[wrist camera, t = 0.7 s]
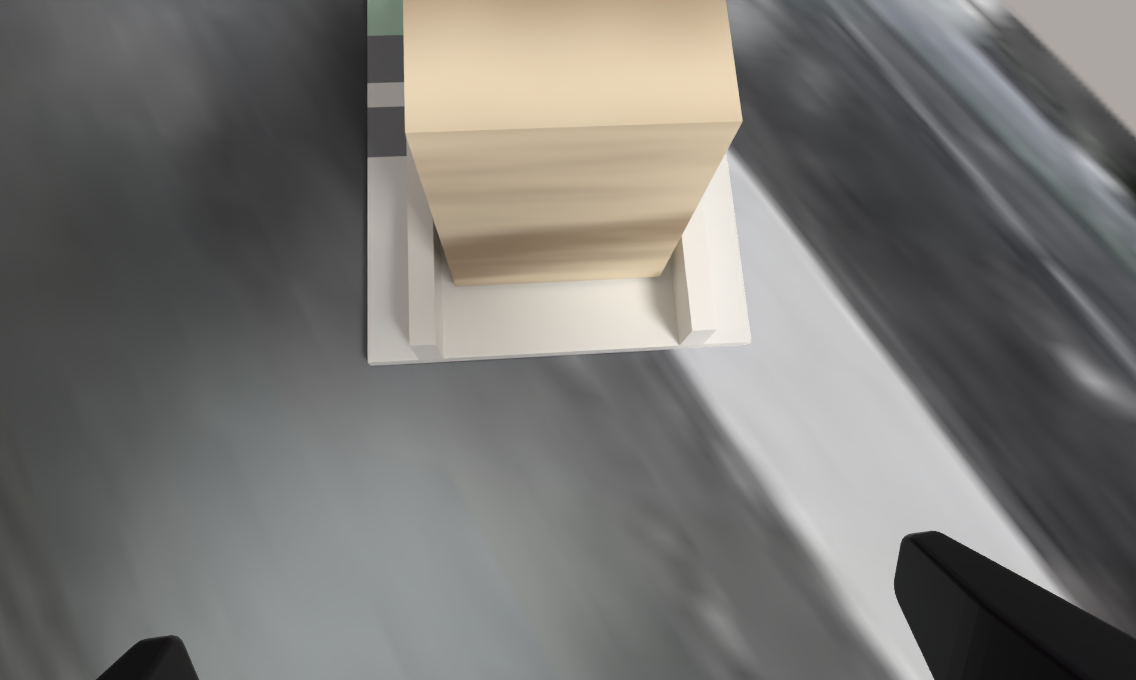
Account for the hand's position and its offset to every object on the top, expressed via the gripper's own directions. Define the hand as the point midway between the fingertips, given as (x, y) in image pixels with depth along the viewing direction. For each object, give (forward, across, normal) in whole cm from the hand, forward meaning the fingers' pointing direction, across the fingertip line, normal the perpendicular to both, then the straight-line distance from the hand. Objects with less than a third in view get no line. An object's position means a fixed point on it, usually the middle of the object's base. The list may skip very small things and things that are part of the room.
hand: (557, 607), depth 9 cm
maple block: (+18, -2, 0) cm, 18 cm away
